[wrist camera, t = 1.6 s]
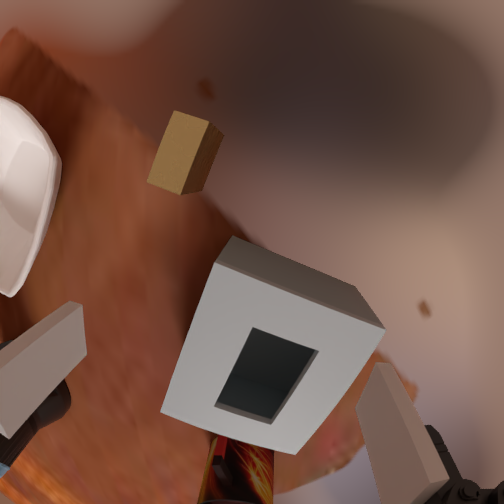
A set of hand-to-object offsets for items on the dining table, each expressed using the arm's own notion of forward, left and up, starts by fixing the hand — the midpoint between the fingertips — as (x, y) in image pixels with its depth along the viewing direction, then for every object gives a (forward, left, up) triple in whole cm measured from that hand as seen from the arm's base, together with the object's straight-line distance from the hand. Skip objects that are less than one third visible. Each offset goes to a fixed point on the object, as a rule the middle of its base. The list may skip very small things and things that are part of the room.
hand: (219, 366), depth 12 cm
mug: (+9, -28, -20) cm, 35 cm away
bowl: (-29, -3, -20) cm, 35 cm away
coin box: (+5, -7, -19) cm, 21 cm away
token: (-8, +7, -20) cm, 22 cm away
